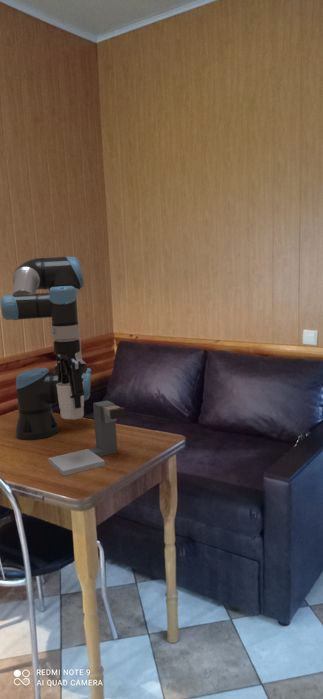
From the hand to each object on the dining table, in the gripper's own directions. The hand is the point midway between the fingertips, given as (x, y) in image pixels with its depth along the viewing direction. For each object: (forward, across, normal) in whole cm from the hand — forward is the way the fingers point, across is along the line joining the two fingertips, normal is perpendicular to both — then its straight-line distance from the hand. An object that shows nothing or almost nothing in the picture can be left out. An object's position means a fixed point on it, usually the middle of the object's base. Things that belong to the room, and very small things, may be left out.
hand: (72, 415), depth 159 cm
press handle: (+4, +3, +12) cm, 13 cm away
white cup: (0, 0, 0) cm, 0 cm away
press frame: (+15, 0, +4) cm, 16 cm away
